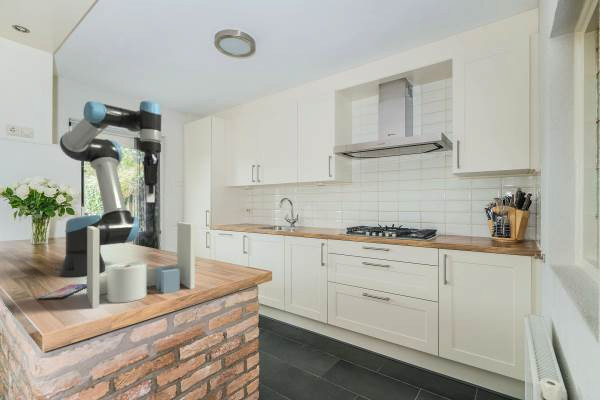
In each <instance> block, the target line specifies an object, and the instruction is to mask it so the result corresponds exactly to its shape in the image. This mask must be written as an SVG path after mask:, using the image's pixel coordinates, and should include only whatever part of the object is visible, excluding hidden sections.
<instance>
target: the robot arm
mask: <svg viewBox="0 0 600 400" xmlns="http://www.w3.org/2000/svg"><path fill="white" fill-rule="evenodd" d="M138 108H139V110H131V109H127V108H122V107H118V106H113V105H110V104H105V103H102V102H99V101H97V102H96V101H86V103H85V104H84V106H83V111H82V112H83V118H82V119H81V120H80V121H79V122H78V123H77V124H76V125H75V126H74V128H72V130H71V131H70V130H69V131H66V132H65V133H64V134H62V136H61V137H60V139H59V146H60V147H59V148H60V149H61V150H62V152H63V154H65V155H66V156H67V157H68V158H70V159H73V160H75V161H78V162H86V163H89V164H90V167H91V168H92V169H93V170H95V174H96V180H97V182H98V183H97V185H98V188H99V192H100V193H99V194H100V199H101V203H102V208H103V212H104V213H102V215H99V214H96V215H94V214H91V215H85V216H84V215H83V216H78V217H77V216H76V217H71V218H70V219H68V220H67V221H66V223H65V230H64V232H65V256H64V259H63V262H62V264H61V267H60V270H59V276H60V277H66V278H68V277H69V278H73V277H74V278H75V277H76V278H77V277H87V226H94V227H96V228H98V229H99V274H100V273H103V272H105V271H106V264H105V261H104V258H103V256H102V252H101V246H106V245H117V244H126V243H131V242H132V243H133V242H134V241H135V240H136V239H137V237H138V234H139V229H140V220H139V218H137V216H132V214H131V211H130V210H128V209H126V204H125V200H124V195H123V191H122V186H121V182H120V178H119V173H118V169H117V167H118V166H119V164H120V163H121V161H122V158H123V156H122V155H123V152H122V149H121V146H120V144H119V143H118V142H116V141H115V140H110V139H104V138H97V136H99V134H101V133H102V132H103V131H104V130H106V128H108V127H109V126H111V127H117V128H122V129H126V130H128V131H130V132H132V133H136V132H138V135H139V140H140V142H139V151H140V153H144V157H143V160H142V166H143V181H144V184H145V202H146V203H155V201H156V198H155V194H156V193H155V186H156V184H157V180H158V167H159V165H158V164H159V160H160V159H159V158H158V157H157V154H160V153H161V152H162V144H161V142H162V116H163V115H162V107H161V104H159V103H158V102H155V101H151V100H142V101H141V102H140V103H139V107H138Z"/></svg>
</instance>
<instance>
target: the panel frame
mask: <svg viewBox="0 0 600 400" xmlns="http://www.w3.org/2000/svg"><path fill="white" fill-rule="evenodd" d="M176 224H177V225H176V226H177V230H176V231H177V234H176V236H177V240H176V241H177V245H176V249H177V253H176V254H177V261H176V263H177V264H170V265H168V266H173V267H174V269H176V268H177V269H179V270H180V284H182V285H183V286H185V287H186V288H188V289H190V290H192V289H193V290H194V289H195V288H196V224H194V223H189V222H183V221H178V222H177V223H176ZM166 266H167V265H164V266H161V267H166ZM158 267H159V266H157V267H156V266H155V267H148V268H147V273H146V274H147V275H146V276H147V279H146V281H147V283H146V285H147V287H152V286H156V268H158ZM86 284H87V288H86V297H87V299H88V301H89V303H90V305H91V307H92V309H95V308H100V295H106V294H107V273H105V274H100V273H99V229H98V228H96V227H94V226H87V276H86Z"/></svg>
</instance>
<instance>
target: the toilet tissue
mask: <svg viewBox="0 0 600 400" xmlns="http://www.w3.org/2000/svg"><path fill="white" fill-rule="evenodd" d="M147 265H148V264H147V262H144V260H142V259H141V260H133V261H132V260H131V261H125V262H120V263H114V264H111V265H108V266H107V267H106V269H107V270H106V274H107V295H106V300H107V302H110V303H116V304H118V303H119V304H120V303H122V304H123V303H130V302H133V301H137V300H141V299H143V298H145V297H146V296H147V295H148V294H147V287H148V286H147V285H146V283H147V281H146V279H147V276H146V275H147V274H146V273H147V267H148V266H147Z"/></svg>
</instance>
